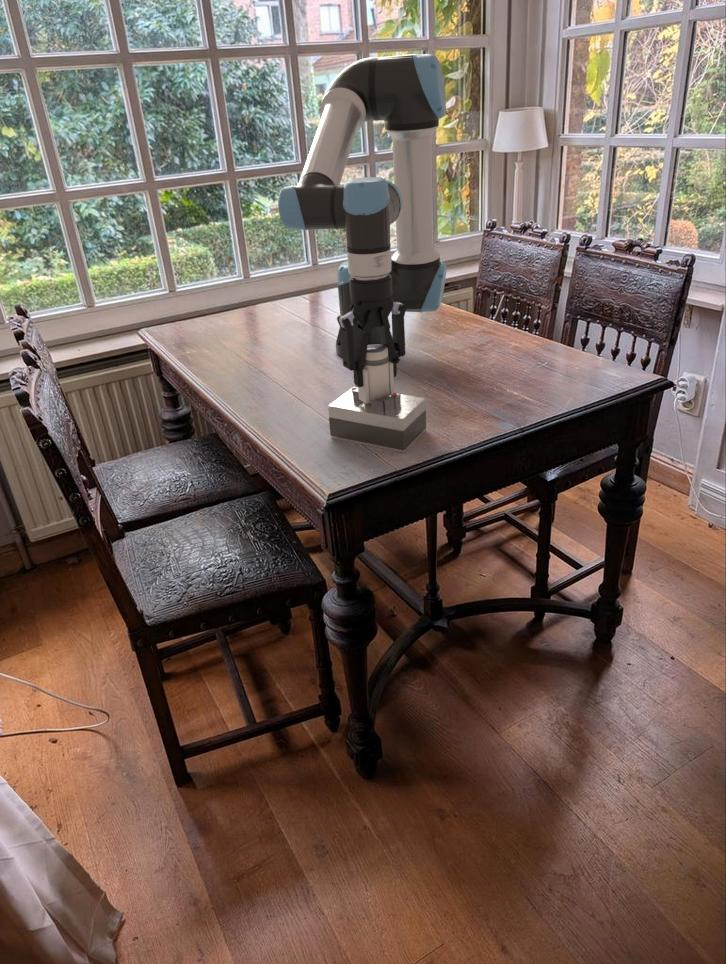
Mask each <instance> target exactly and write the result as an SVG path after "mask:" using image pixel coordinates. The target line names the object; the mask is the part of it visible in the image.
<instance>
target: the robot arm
mask: <svg viewBox="0 0 726 964" xmlns="http://www.w3.org/2000/svg"><path fill="white" fill-rule="evenodd" d="M443 73H444V72H443V69H442V65H441V62H440V60H439V58H438V57H437V55H435V54H433V53H432V54H431V53H430V54H429V53H412V54H402V55H401V54H399V55H392V56H390V55H389V56H379V57H378V56H377V57H373V56H372V57H366V58H365V57H364V58H362V59H358V60H357V61H355V62H352V63H351V64H350V65H347V67H345V68H344V69H343V70H342V71H341V72H340V73H338V74H337V75H336V76H335V78H334V79H333V80H332V81H331V82H330V83H329V85H328V87H327V88H326V90H325V91H324V94H323V97H322V100H321V103H320V114H321V115H320V117H321V118H320V121H319V124H318V126H317V129H316V131H315V135H314V138H313V141H312V144H311V146H310V150H309V153H308V156H307V158H306V161H305V164H304V167H303V170H302V173H301V175H300V177H299V180H298V183H297V185H294V184H292V185H289V186H284V187H283V188H281V189H280V191H279V194H278V199H277V200H278V202H277V207H278V214H279V218H280V222H281V224H282V225H283V226H284V228H286V229H287V230H302V231H308V230H312V231H313V230H335V229H337V230H345V237H346V248H347V249H346V250H347V251H346V252H347V260H346V261H343V262H342V263H341V264H340V265H339V266H338V268H337V282H336V285H337V293H338V295H337V296H338V305H339V315H338V316H337V317H336V320H337V323H338V326H339V329H338V333H337V337H336V342H335V353H336V355H338V356H339V357H340V358H342V366H343V367H344V368H346V369H347V370H349V371H353V383H354V386H357V387H358V393H359V400H361V401H363V402H364V403H366V404H367V403H370V402H369V384H368V370H366V369H364V364H365V358H366V351H367V345H373V344H379V345H385V346H387V347H388V354H389V361H388V365H389V389H390V396H392V395H393V393H395V377H397V374H398V373H397V370H398V369H397V367H398V366H397V364H398V363H399V362H400V360H401V359H400V357H405V356H406V337H405V336H406V335H405V334H406V332H405V315H406V313H429V312H436V311H438V310H439V308H441V304H442V300H443V297H444V290H445V284H446V278H447V277H446V276H447V263H446V262H444V261H441V256H440V252H439V251H438V250H436V248H435V247H434V213H433V212H434V209H433V208H434V203H433V201H434V199H433V152H432V151H433V139H432V138H433V135H434V133H435V132H436V131H437V129H438V128H439V126H440V123H439V121H440V119H442V118H444V117H445V116H446V112H447V105H446V104H447V99H446V97H447V96H446V86H445V79H444V74H443ZM372 121H375V122H379V121H384V131H385V132H386V133H387V134H388V135H389V136H390V137H391V140H392V160H393V182H390V181H388V180H386V179H385V178H383V177H380V176H369V177H368V176H365V177H356V178H352V179H349V180H346V182H345V183H344V184H341V182H342V179H343V177H344V176H343V175H344V172H345V169H346V166H347V163H348V160H349V156H350V152H351V150H352V146H353V144H354V140H355V137H356V134H357V132H358V131H359V130H360V129H361V128H362V127H363V125H364V124H365V122H372ZM394 223H395V226H396V227H395V229H396V231H395V232H396V250H395V251H394V252H393V254H392V253H391V225H392V224H394ZM390 314H391V322H390V320H389V316H390ZM390 323H391V324H390Z"/></svg>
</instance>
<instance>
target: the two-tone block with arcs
mask: <svg viewBox="0 0 726 964" xmlns="http://www.w3.org/2000/svg"><path fill="white" fill-rule="evenodd" d="M426 407H427V406H426V397H421V396H420V397H419V396H415V395H409V394H401V393H399V392H394V393H393V395H392V396H390V397H388V398H384V399H377V400H371V404H370V403H367V404H366V403H364V402H363V401H361V400H359V393H358V387H357V386H356V385H353V386H351V388H350V389H349V390H346V392H344V393H343V394H342V395H340V396H339V397H338V398H336V399H335V400H334V401H332V402H330V403H329V405H328V406H327V408H328V416H329V417H328V421H329V432H330V438H331V439H333V440H334V439H335V440H340V441H345V442H350V443H354V444H358V445H359V444H360V445H364V446H369V447H373V448H379V449H384V450H390V451H394V452H400V453H404V454H405V452H406V451H407V450H409V448H410V447H411V446H413V445H414V443H415V442H416V441H417V440H418V439H419V438H420V437H421V436H422V435H423V434H424V433H425V432H427V431H426V430H427V410H426Z"/></svg>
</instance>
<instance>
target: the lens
mask: <svg viewBox="0 0 726 964" xmlns="http://www.w3.org/2000/svg"><path fill="white" fill-rule="evenodd" d="M388 361H389V354H388V347H387V346H385V345H379V344H373V345H367V351H366V358H365V364H364V369H366V370H368V384H369V402H370V404H371V400H377V399H384V398H388V397H390V389H389V365H388Z"/></svg>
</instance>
